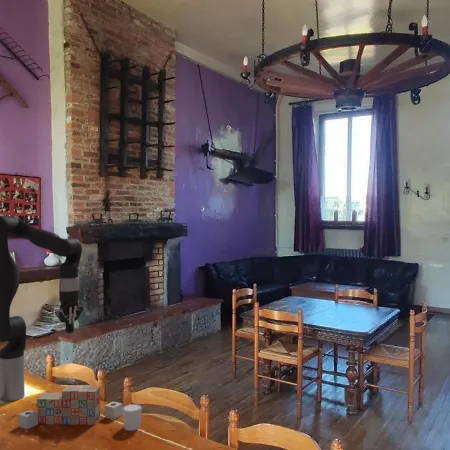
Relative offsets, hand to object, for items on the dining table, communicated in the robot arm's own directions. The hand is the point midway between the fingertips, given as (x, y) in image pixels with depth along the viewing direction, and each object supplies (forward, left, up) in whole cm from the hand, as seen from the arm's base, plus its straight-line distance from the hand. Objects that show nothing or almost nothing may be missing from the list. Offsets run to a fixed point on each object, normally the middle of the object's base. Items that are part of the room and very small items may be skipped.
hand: (69, 332), depth 186 cm
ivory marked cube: (+22, 0, -29) cm, 36 cm away
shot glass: (+34, -4, -29) cm, 45 cm away
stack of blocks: (+10, -10, -29) cm, 33 cm away
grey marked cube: (0, -20, -29) cm, 35 cm away
